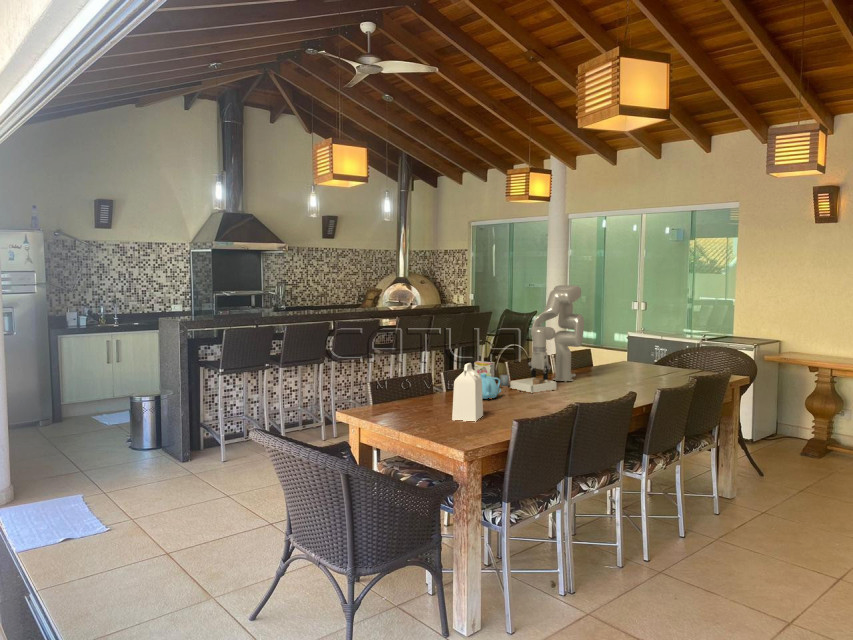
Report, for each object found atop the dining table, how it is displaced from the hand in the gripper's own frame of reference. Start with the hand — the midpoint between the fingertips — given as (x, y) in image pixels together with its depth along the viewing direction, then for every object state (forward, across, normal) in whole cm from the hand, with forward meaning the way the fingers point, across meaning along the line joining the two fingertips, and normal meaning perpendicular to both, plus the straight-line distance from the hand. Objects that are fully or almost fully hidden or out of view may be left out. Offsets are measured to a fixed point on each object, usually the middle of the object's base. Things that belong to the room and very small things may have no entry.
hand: (539, 378), depth 379 cm
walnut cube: (+5, 0, +1) cm, 5 cm away
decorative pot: (+5, -1, +44) cm, 45 cm away
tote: (+6, 0, +5) cm, 8 cm away
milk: (+4, -33, +81) cm, 88 cm away
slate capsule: (+6, +17, +12) cm, 22 cm away
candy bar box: (+6, +17, +28) cm, 33 cm away
